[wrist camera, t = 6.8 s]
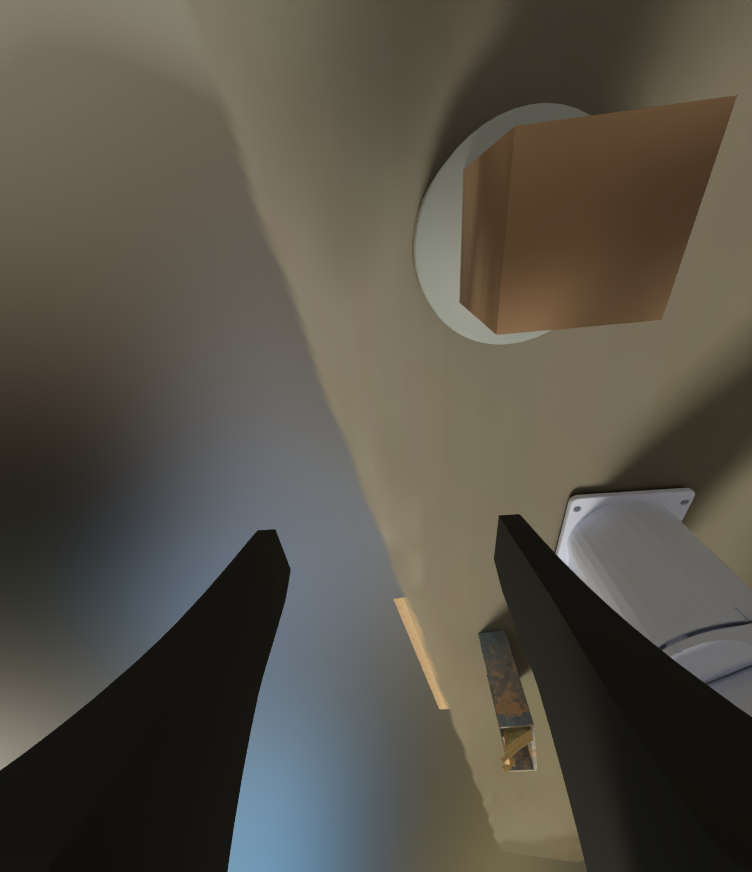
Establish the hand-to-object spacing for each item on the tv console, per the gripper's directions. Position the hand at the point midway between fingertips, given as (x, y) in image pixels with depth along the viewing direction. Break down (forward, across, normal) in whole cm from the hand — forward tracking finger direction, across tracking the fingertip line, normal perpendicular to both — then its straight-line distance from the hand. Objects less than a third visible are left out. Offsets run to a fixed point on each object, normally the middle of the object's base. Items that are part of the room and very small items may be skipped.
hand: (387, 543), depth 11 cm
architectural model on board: (+11, -9, +31) cm, 34 cm away
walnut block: (+8, -6, -8) cm, 13 cm away
